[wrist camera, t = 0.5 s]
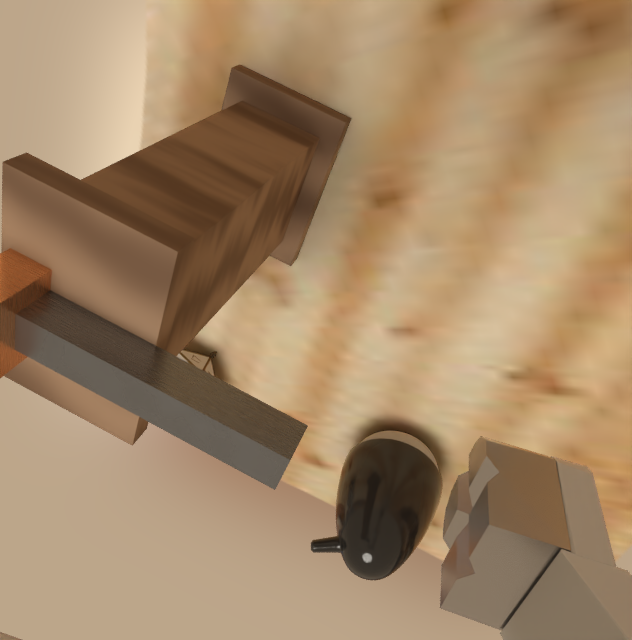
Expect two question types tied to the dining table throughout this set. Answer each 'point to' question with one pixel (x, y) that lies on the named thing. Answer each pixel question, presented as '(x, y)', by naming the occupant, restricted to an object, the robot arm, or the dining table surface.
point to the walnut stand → (172, 224)
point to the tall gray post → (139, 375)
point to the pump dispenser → (383, 503)
